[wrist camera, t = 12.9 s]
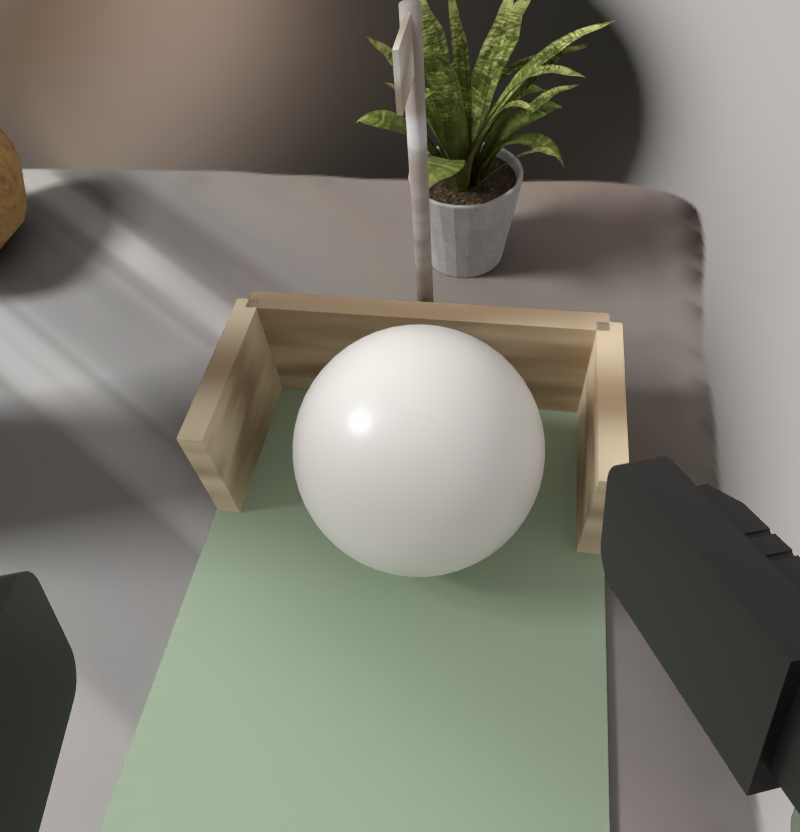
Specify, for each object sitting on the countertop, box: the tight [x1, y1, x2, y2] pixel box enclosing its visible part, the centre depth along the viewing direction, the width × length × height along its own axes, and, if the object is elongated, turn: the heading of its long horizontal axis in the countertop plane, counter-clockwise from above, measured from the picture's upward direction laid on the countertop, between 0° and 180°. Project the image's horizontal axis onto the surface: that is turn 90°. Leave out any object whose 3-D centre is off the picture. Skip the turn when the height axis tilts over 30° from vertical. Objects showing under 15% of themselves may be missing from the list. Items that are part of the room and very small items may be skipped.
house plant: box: [357, 0, 614, 278], centre depth 39 cm, size 14×14×16 cm
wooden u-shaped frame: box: [176, 0, 629, 554], centre depth 28 cm, size 11×19×20 cm, turn 81°
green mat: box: [99, 388, 610, 832], centre depth 31 cm, size 28×20×1 cm
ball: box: [293, 324, 545, 577], centre depth 30 cm, size 11×11×11 cm
